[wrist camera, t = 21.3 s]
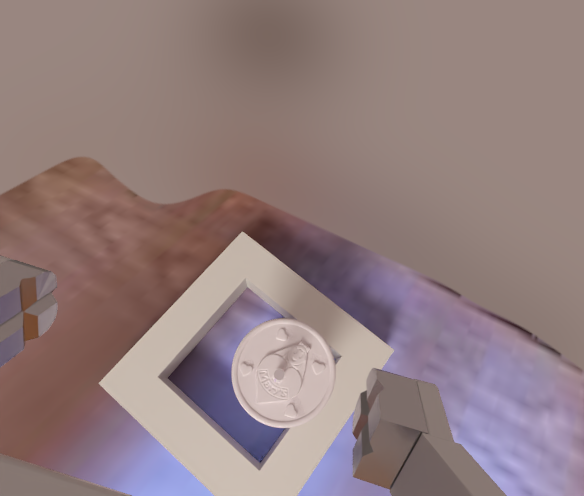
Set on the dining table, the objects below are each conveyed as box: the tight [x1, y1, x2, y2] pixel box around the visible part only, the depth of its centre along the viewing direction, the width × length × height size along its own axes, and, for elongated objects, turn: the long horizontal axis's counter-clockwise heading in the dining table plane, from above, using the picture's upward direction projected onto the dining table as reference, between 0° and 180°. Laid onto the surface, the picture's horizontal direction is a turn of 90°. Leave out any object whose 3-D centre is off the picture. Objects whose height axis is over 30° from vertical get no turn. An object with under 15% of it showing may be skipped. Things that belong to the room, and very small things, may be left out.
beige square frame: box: [99, 231, 394, 496], centre depth 30 cm, size 16×16×3 cm
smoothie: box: [232, 318, 336, 428], centre depth 25 cm, size 6×6×14 cm
